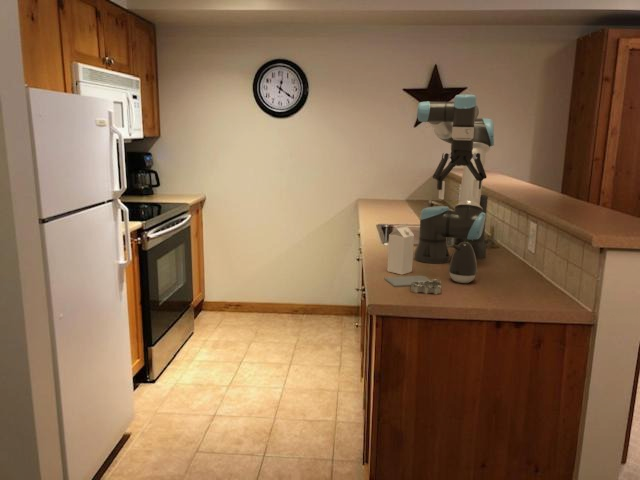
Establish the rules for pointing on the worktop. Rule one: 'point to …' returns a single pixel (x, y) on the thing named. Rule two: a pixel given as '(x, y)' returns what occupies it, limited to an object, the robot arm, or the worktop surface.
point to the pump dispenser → (463, 263)
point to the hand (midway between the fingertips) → (458, 198)
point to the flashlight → (479, 243)
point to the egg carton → (426, 286)
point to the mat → (405, 280)
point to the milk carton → (400, 250)
